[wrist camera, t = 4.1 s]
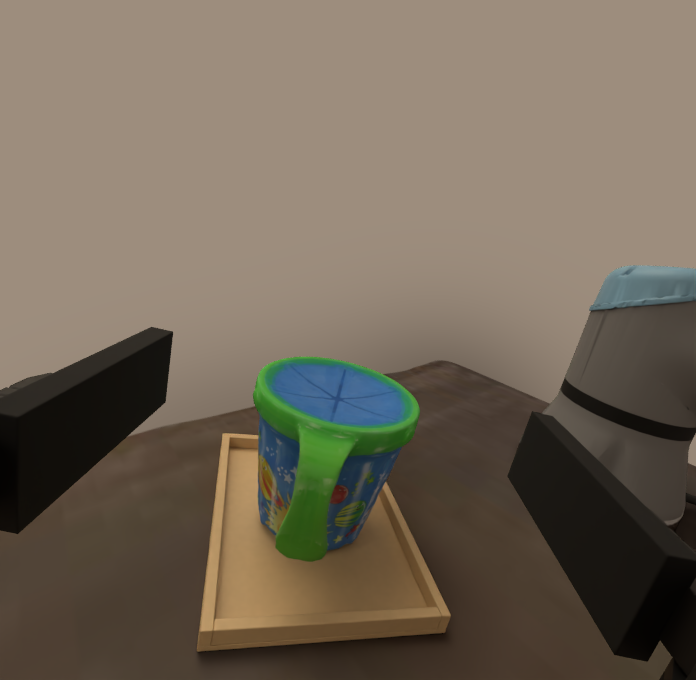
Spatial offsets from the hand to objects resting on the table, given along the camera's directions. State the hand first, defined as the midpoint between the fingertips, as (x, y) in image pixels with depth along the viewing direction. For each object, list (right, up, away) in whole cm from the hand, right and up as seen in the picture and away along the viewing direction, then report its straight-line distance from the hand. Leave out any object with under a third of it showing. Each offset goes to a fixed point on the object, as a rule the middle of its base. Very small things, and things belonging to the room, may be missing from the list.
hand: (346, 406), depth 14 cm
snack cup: (-3, -10, +14) cm, 18 cm away
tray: (-3, -10, +14) cm, 18 cm away
